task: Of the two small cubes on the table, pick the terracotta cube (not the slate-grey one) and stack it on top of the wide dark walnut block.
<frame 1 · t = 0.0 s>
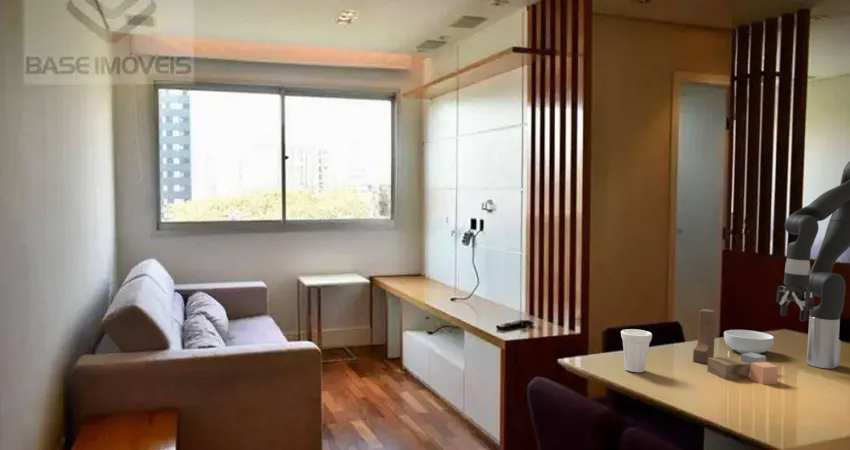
hand: (792, 318, 226), 17 cm above the table, tool pointing down, fingers open, 8 cm apart
terracotta cube: (763, 381, 210), on the table
cup: (634, 371, 218), on the table
walnut base block: (727, 375, 216), on the table
wooden block: (703, 361, 233), on the table
cereal bowl: (747, 352, 246), on the table
slate cube: (752, 370, 221), on the table
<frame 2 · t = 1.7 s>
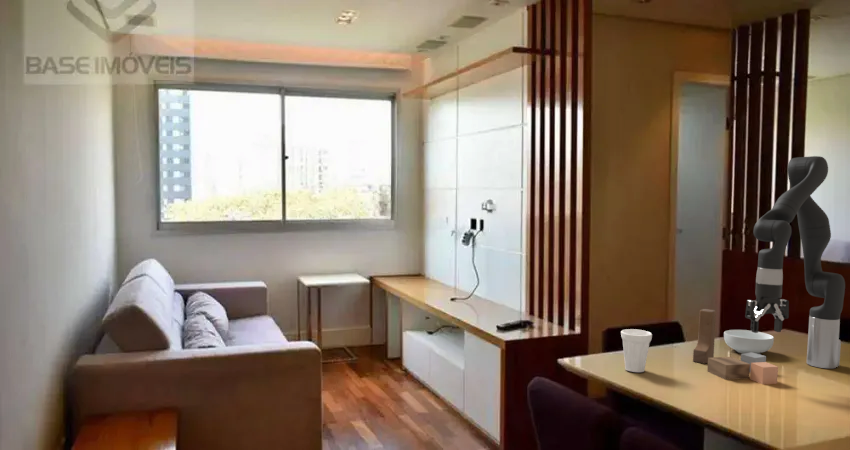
hand: (766, 332, 209), 16 cm above the table, tool pointing down, fingers open, 8 cm apart
nothing on the table moved.
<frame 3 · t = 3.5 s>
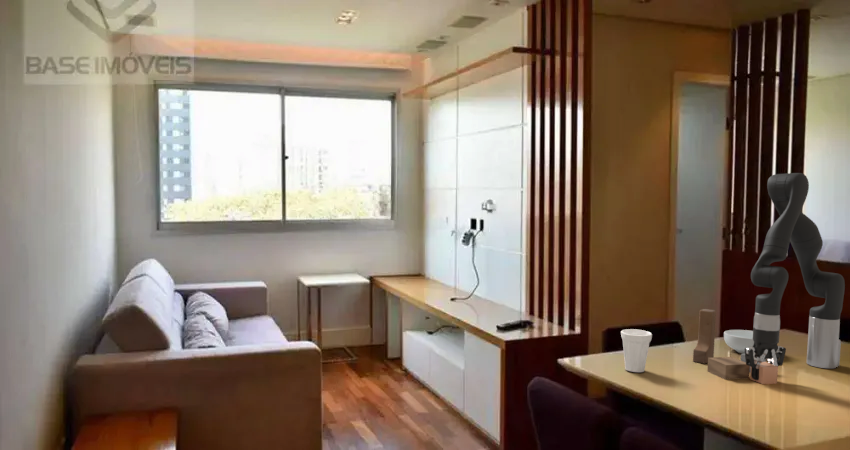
hand: (763, 378, 210), 1 cm above the table, tool pointing down, fingers closed on terracotta cube, 5 cm apart
terracotta cube: (763, 381, 210), on the table, touching gripper
everything else where it was.
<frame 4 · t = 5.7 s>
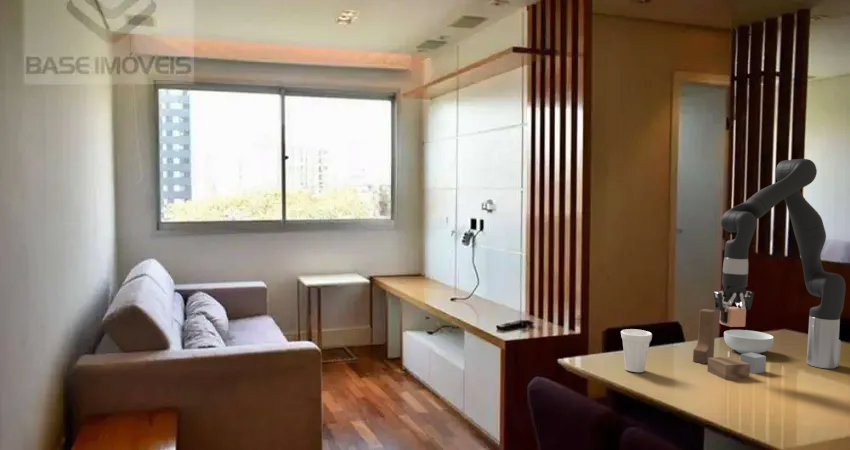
hand: (732, 322, 214), 18 cm above the table, tool pointing down, fingers closed on terracotta cube, 5 cm apart
terracotta cube: (732, 324, 214), point 17 cm above the table, touching gripper
everything else where it was.
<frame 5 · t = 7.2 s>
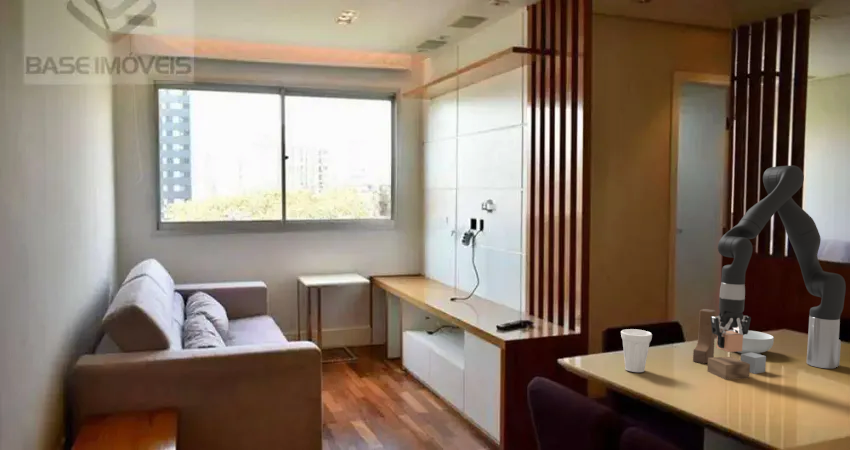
hand: (729, 346, 215), 9 cm above the table, tool pointing down, fingers closed on terracotta cube, 5 cm apart
terracotta cube: (729, 349, 215), point 9 cm above the table, touching gripper
everything else where it was.
when the fingers open (7 cm above the table, at t = 8.2 s): terracotta cube drops 1 cm, point 5 cm above the table.
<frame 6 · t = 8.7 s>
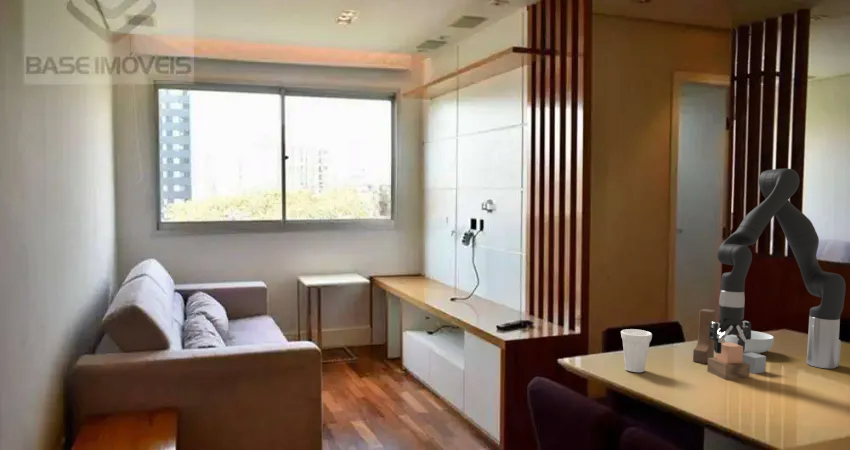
hand: (729, 352, 215), 7 cm above the table, tool pointing down, fingers open, 8 cm apart
terracotta cube: (729, 360, 216), point 5 cm above the table
everything else where it was.
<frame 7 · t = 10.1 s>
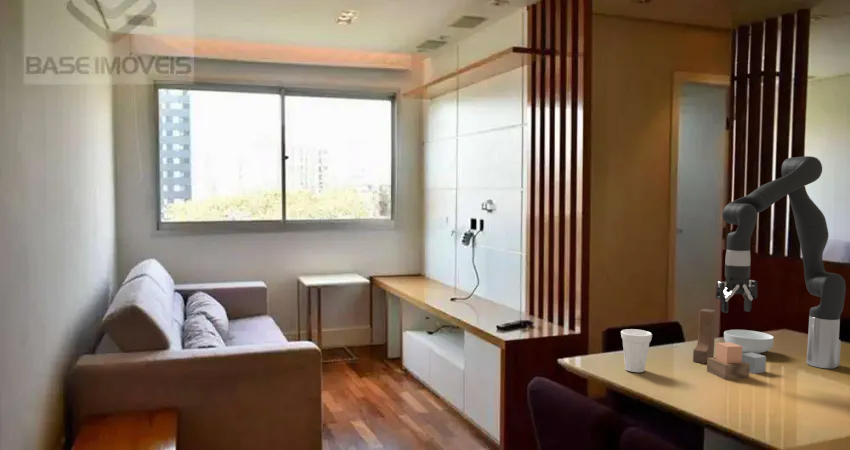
hand: (736, 311, 216), 21 cm above the table, tool pointing down, fingers open, 8 cm apart
terracotta cube: (728, 360, 216), point 5 cm above the table, touching walnut base block
walnut base block: (727, 375, 216), on the table, touching terracotta cube
everything else where it was.
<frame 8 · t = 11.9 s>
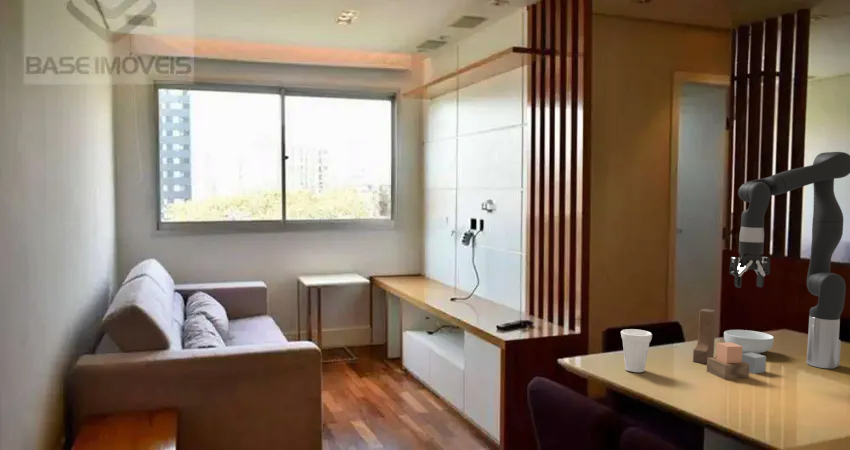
hand: (748, 287, 223), 28 cm above the table, tool pointing down, fingers open, 8 cm apart
nothing on the table moved.
at the end: terracotta cube 0.4 cm off-centre on the walnut base block, point 5.0 cm above the walnut base block's base; terracotta cube tilted 0°; the gripper is holding nothing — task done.
